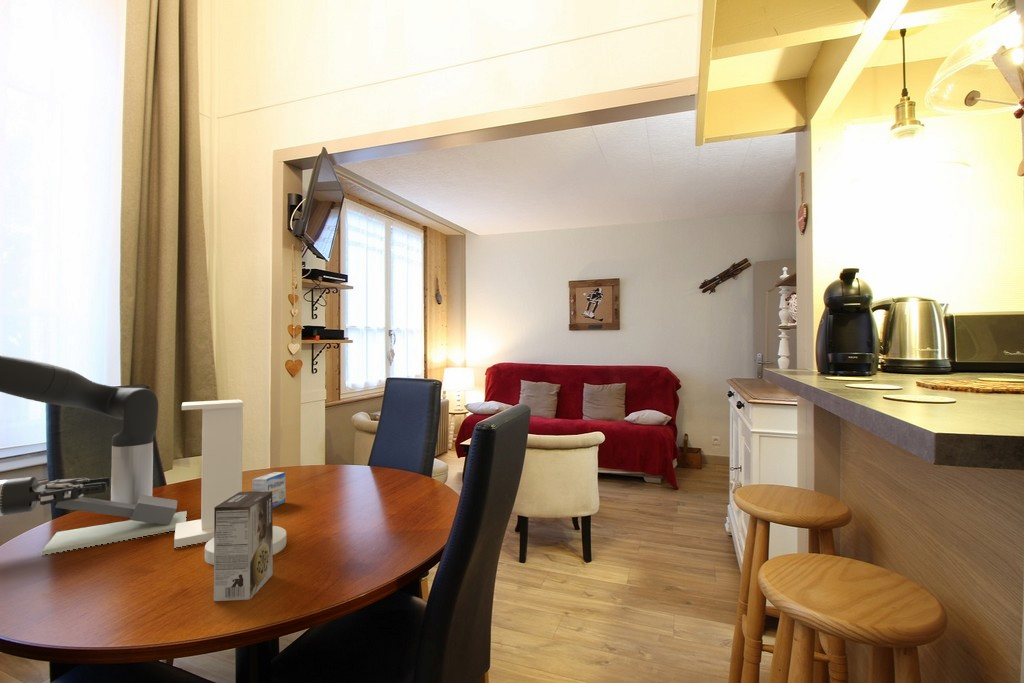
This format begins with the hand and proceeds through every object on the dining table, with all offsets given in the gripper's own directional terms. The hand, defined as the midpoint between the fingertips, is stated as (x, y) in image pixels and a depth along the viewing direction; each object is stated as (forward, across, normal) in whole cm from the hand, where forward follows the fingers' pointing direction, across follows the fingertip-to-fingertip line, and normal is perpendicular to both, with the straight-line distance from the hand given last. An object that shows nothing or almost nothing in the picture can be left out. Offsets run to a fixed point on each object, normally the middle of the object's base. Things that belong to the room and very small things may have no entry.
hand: (107, 484), depth 109 cm
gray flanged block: (+2, 0, +7) cm, 7 cm away
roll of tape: (+26, -29, +12) cm, 41 cm away
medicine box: (+34, +1, +12) cm, 36 cm away
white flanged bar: (+20, -13, +12) cm, 27 cm away
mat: (+3, 0, +12) cm, 12 cm away
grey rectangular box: (+24, -48, +12) cm, 55 cm away
